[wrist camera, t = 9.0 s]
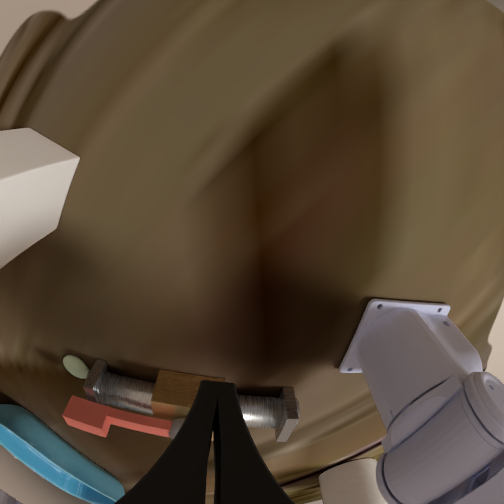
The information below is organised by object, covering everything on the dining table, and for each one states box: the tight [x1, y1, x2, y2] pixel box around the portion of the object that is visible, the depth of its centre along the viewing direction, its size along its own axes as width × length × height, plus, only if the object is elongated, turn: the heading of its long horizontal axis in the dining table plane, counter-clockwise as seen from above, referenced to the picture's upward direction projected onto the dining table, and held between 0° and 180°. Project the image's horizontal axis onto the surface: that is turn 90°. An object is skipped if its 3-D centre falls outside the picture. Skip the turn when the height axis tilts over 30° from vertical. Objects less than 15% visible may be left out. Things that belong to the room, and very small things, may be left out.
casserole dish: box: [0, 404, 125, 504], centre depth 31 cm, size 37×22×7 cm, turn 22°
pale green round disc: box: [63, 355, 90, 379], centre depth 23 cm, size 3×3×1 cm
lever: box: [63, 395, 186, 439], centre depth 19 cm, size 12×3×3 cm, turn 81°
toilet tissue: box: [319, 458, 388, 504], centre depth 32 cm, size 11×12×10 cm
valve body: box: [83, 359, 300, 442], centre depth 23 cm, size 20×6×4 cm, turn 81°
